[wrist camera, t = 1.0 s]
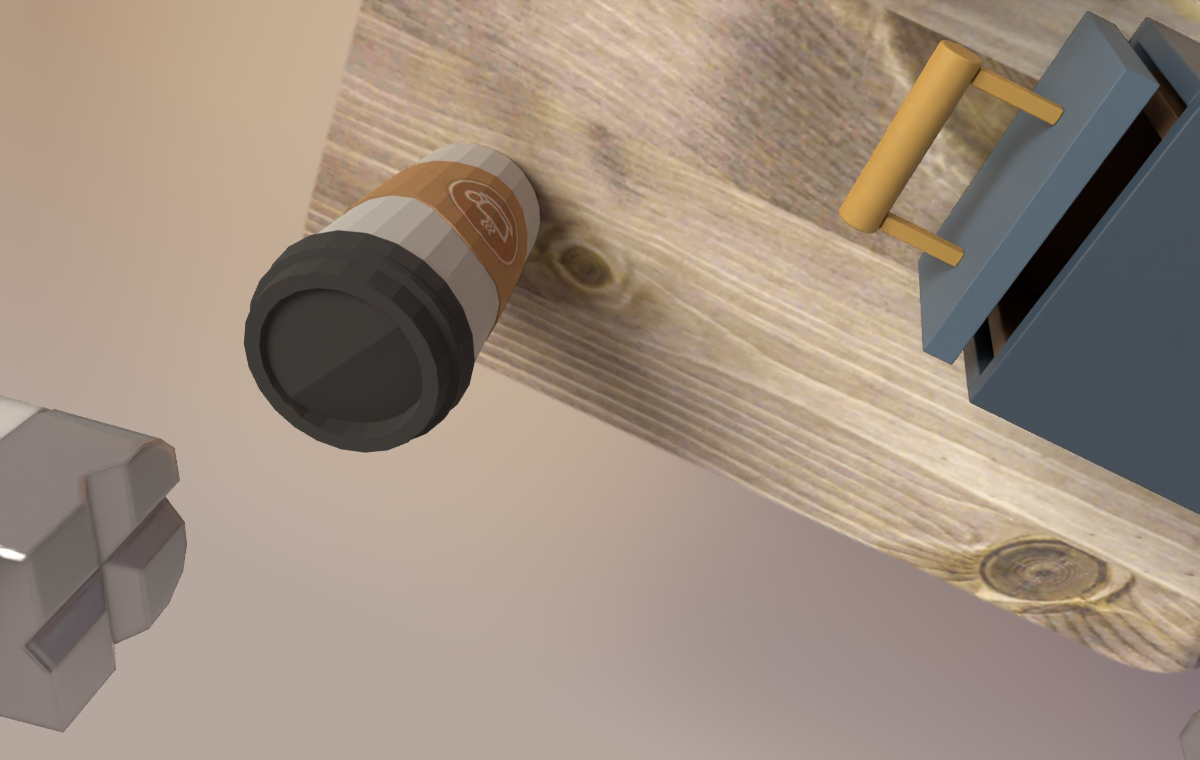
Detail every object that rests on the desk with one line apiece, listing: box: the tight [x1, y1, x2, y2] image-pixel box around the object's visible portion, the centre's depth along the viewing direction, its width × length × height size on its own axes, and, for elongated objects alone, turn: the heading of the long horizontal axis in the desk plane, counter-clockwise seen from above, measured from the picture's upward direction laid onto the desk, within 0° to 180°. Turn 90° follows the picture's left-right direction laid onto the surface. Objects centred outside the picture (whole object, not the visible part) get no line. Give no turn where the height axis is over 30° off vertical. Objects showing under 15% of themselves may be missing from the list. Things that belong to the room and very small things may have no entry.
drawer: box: [839, 11, 1188, 365], centre depth 39 cm, size 18×11×8 cm, turn 68°
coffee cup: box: [244, 143, 540, 452], centre depth 43 cm, size 8×8×15 cm
